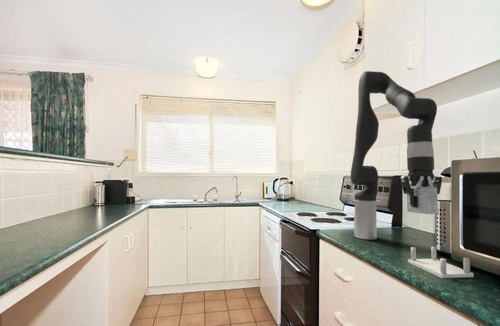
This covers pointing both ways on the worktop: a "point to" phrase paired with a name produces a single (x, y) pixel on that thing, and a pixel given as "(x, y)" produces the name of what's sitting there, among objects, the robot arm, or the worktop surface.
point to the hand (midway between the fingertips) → (422, 207)
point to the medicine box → (425, 201)
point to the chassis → (440, 265)
